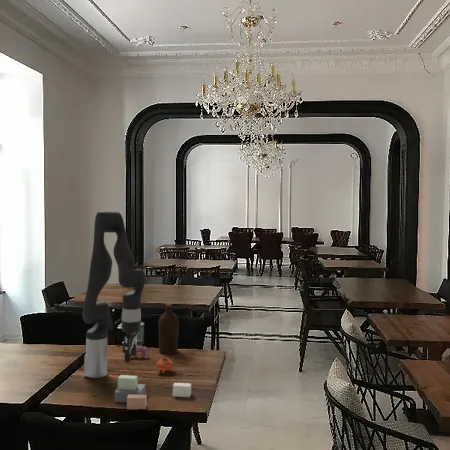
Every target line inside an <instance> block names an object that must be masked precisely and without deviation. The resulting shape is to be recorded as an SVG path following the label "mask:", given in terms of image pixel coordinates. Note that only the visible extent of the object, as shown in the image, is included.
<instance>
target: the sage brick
mask: <svg viewBox="0 0 450 450" xmlns="http://www.w3.org/2000/svg"><path fill="white" fill-rule="evenodd" d="M137 384H138V375H126V374H120V375H119V376H118V377H117V388H118V389H126V390H135V389H136V388H137Z"/></svg>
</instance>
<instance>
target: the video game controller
mask: <svg viewBox="0 0 450 450" xmlns="http://www.w3.org/2000/svg"><path fill="white" fill-rule="evenodd" d="M139 353H140V354H139ZM149 356H150V350H149V348H148V347H147V346H145V345H137V346H136V355H135V356H131V359H132V358H135V359H136V358H138V357H140V358H141V359H143V358H145V360H148V359H149Z"/></svg>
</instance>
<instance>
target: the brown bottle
mask: <svg viewBox="0 0 450 450" xmlns="http://www.w3.org/2000/svg"><path fill="white" fill-rule="evenodd" d="M157 323H158V325H157V326H158V351H159V353H160V354H163V355H172V354H176V353H177V352H178V343H179V342H178V340H179V329H180V321H179V318H178V316H177V315H176V314H175V312H173V303H166V304H165V311H164V312H163V314H161V315H160V316H159V319H158V322H157Z"/></svg>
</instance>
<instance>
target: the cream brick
mask: <svg viewBox="0 0 450 450" xmlns="http://www.w3.org/2000/svg"><path fill="white" fill-rule="evenodd" d="M191 395H192V383H190V382H189V383H187V382H174V383H173V385H172V397H176V398H177V397H178V398H179V397H180V398H181V397H182V398H191Z"/></svg>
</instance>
